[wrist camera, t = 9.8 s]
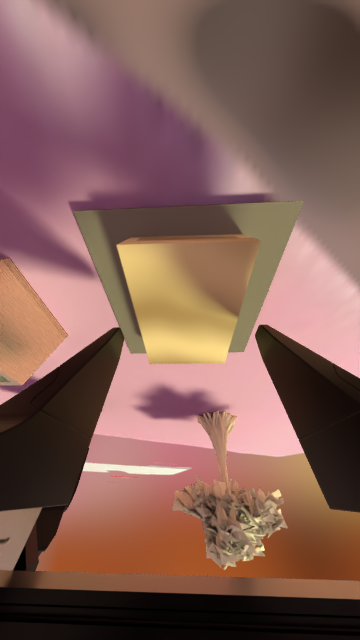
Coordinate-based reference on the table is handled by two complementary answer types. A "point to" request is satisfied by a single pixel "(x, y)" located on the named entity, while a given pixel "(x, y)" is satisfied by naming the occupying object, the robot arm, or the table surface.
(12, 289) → the tin
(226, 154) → the table surface
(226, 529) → the tree
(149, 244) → the lid
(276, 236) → the mat
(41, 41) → the table surface
